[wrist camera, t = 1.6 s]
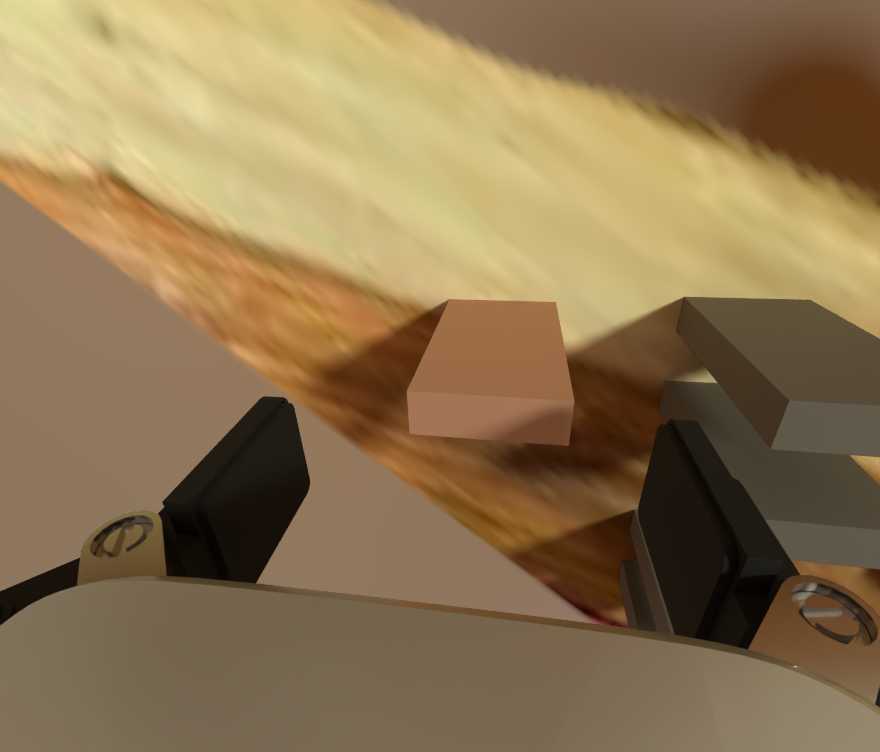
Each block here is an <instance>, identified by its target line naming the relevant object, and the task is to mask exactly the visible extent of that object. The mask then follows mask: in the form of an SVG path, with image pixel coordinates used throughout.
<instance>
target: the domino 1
mask: <svg viewBox="0 0 880 752" xmlns="http://www.w3.org/2000/svg"><path fill="white" fill-rule="evenodd" d="M407 402H408V416H409V430H410V434H417V435H431V436H444V437H457V438H470V439H483V440H496V441H509V442H522V443H536V444H549V445H562V446H569V439H570V432H571V424H572V417H573V409H574V402H575V401H574V396H573V391H572V385H571V380H570V375H569V369H568V364H567V359H566V354H565V348H564V343H563V338H562V333H561V327H560V322H559V317H558V312H557V306H556V302H526V301H489V300H452V299H449V302H448V304H447V306H446V308H445V310H444V312H443V314H442V317H441V319H440V321H439V323H438V325H437V327H436V329H435V332H434V334H433V336H432V338H431V340H430V342H429V344H428V347H427V349H426V351H425V353H424V355H423V357H422V359H421V362H420V364H419V366H418V368H417V370H416V372H415V375H414V377H413V379H412V381H411V383H410V385H409V387H408V390H407Z"/></svg>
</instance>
